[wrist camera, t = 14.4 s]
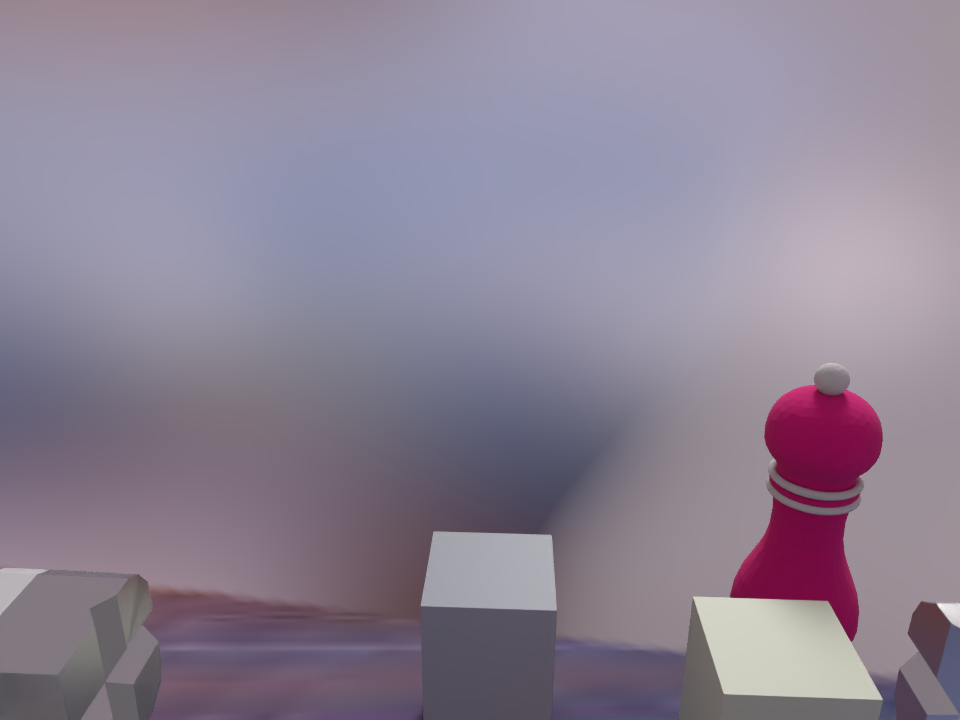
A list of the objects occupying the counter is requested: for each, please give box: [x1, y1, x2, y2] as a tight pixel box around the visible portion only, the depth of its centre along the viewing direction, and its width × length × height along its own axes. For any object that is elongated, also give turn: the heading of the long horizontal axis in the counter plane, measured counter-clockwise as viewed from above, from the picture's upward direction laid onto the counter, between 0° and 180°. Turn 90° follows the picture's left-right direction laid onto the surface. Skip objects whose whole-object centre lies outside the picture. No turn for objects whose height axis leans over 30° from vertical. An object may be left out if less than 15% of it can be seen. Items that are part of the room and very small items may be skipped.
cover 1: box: [421, 532, 557, 720], centre depth 44 cm, size 6×6×11 cm
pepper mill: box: [730, 363, 883, 642], centre depth 48 cm, size 7×7×20 cm
